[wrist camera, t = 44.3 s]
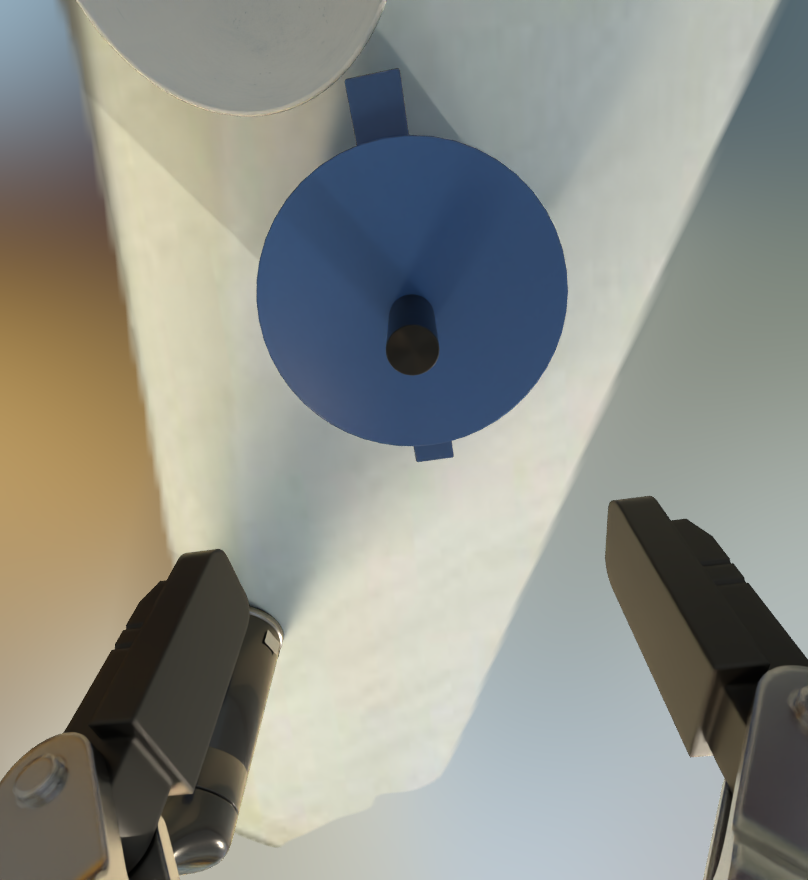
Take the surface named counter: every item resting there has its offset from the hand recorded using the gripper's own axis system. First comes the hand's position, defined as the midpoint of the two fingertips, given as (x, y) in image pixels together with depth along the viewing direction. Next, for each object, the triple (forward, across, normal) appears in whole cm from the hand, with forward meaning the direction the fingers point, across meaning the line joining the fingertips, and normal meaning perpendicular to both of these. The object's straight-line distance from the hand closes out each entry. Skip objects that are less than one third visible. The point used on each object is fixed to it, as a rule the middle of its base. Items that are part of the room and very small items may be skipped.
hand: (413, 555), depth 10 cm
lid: (+18, 0, 0) cm, 18 cm away
